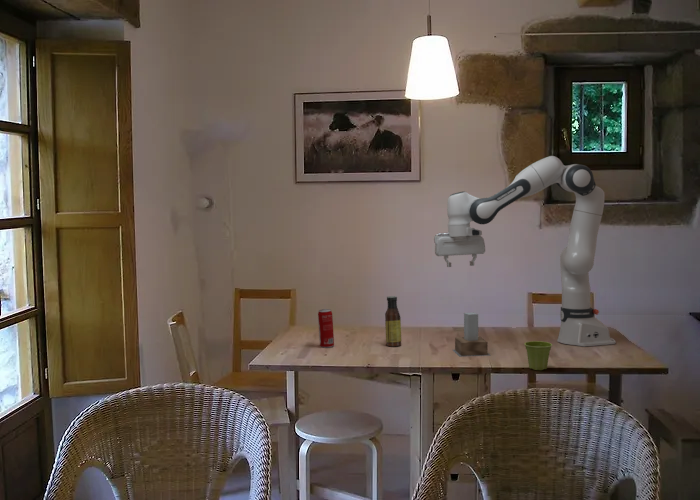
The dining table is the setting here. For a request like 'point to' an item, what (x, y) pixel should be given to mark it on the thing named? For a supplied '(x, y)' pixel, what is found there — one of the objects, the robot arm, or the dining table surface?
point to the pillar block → (471, 326)
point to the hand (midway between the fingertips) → (460, 266)
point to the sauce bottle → (392, 323)
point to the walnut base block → (471, 346)
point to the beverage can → (326, 328)
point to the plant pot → (538, 354)
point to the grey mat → (472, 355)
